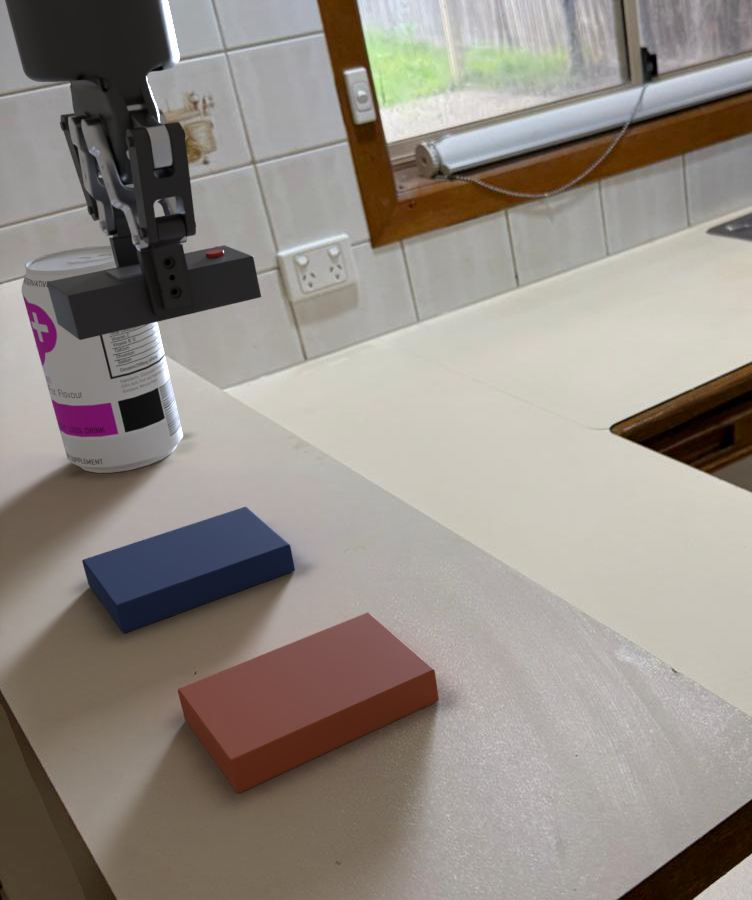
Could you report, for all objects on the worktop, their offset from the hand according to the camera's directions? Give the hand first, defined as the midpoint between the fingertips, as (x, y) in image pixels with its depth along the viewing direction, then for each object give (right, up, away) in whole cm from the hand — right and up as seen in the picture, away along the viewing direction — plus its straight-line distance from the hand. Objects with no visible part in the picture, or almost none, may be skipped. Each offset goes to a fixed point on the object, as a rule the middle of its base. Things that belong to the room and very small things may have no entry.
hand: (160, 305), depth 63 cm
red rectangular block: (+11, -21, -9) cm, 25 cm away
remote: (0, 0, 0) cm, 0 cm away
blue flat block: (0, -16, +4) cm, 16 cm away
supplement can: (-11, -9, +22) cm, 26 cm away
